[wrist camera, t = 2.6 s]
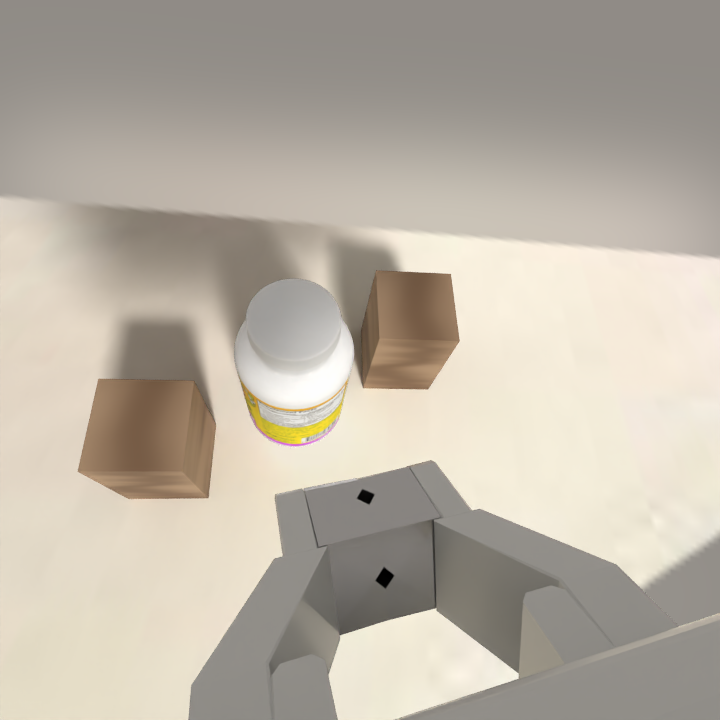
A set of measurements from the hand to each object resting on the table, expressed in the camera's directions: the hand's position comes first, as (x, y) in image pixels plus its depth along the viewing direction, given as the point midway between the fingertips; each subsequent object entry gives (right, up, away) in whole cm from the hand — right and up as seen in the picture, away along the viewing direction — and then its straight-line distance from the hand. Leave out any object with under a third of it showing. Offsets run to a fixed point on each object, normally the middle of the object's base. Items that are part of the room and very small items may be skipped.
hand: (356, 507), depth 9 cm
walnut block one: (-12, -4, +23) cm, 27 cm away
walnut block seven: (+3, +3, +29) cm, 29 cm away
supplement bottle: (-5, -1, +26) cm, 27 cm away
